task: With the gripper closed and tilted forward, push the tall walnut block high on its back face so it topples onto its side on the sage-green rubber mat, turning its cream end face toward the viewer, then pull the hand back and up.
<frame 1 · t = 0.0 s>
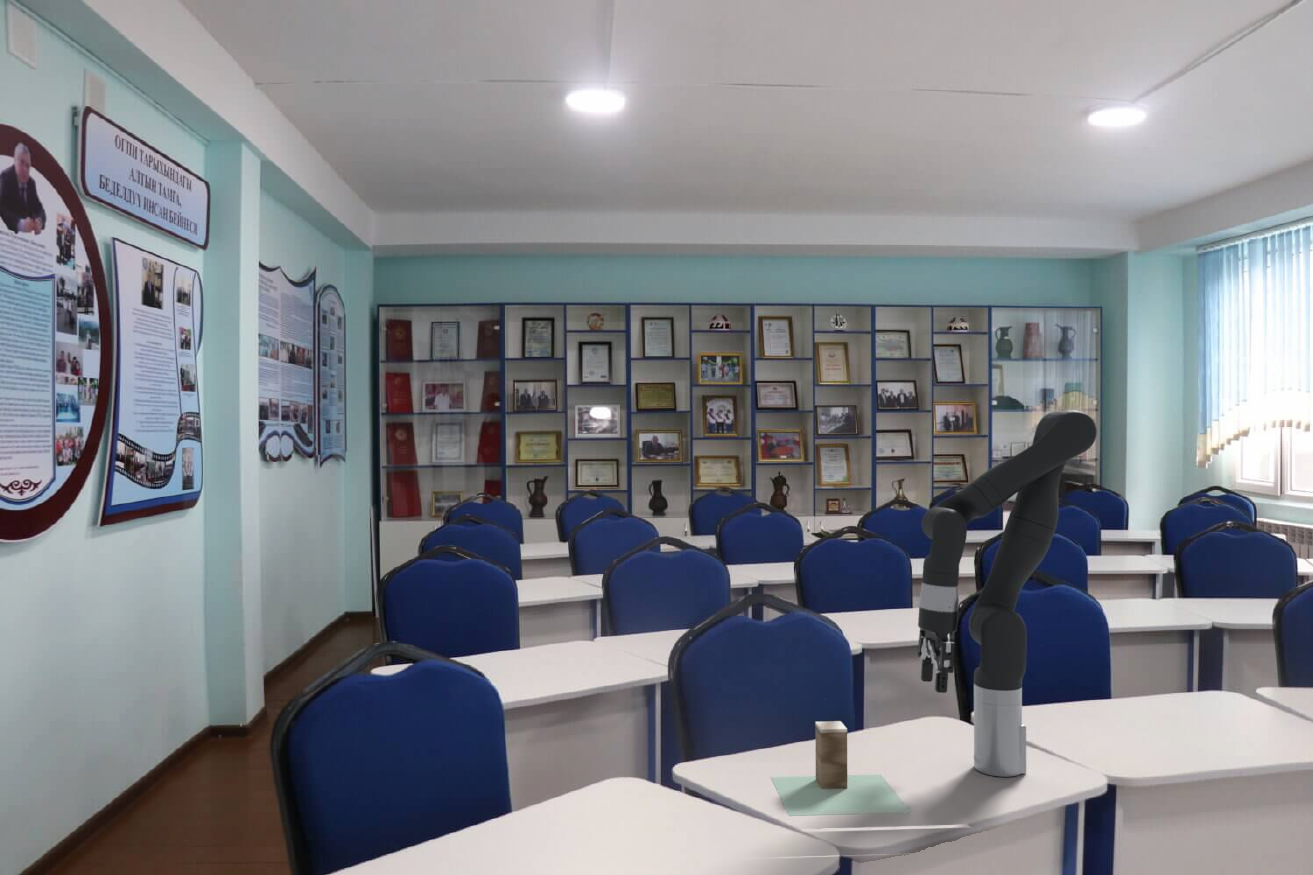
hand: (933, 686, 195), 17 cm above the table, tool pointing down, fingers open, 8 cm apart
sage mat: (837, 796, 182), on the table
walnut block: (831, 783, 187), resting on sage mat
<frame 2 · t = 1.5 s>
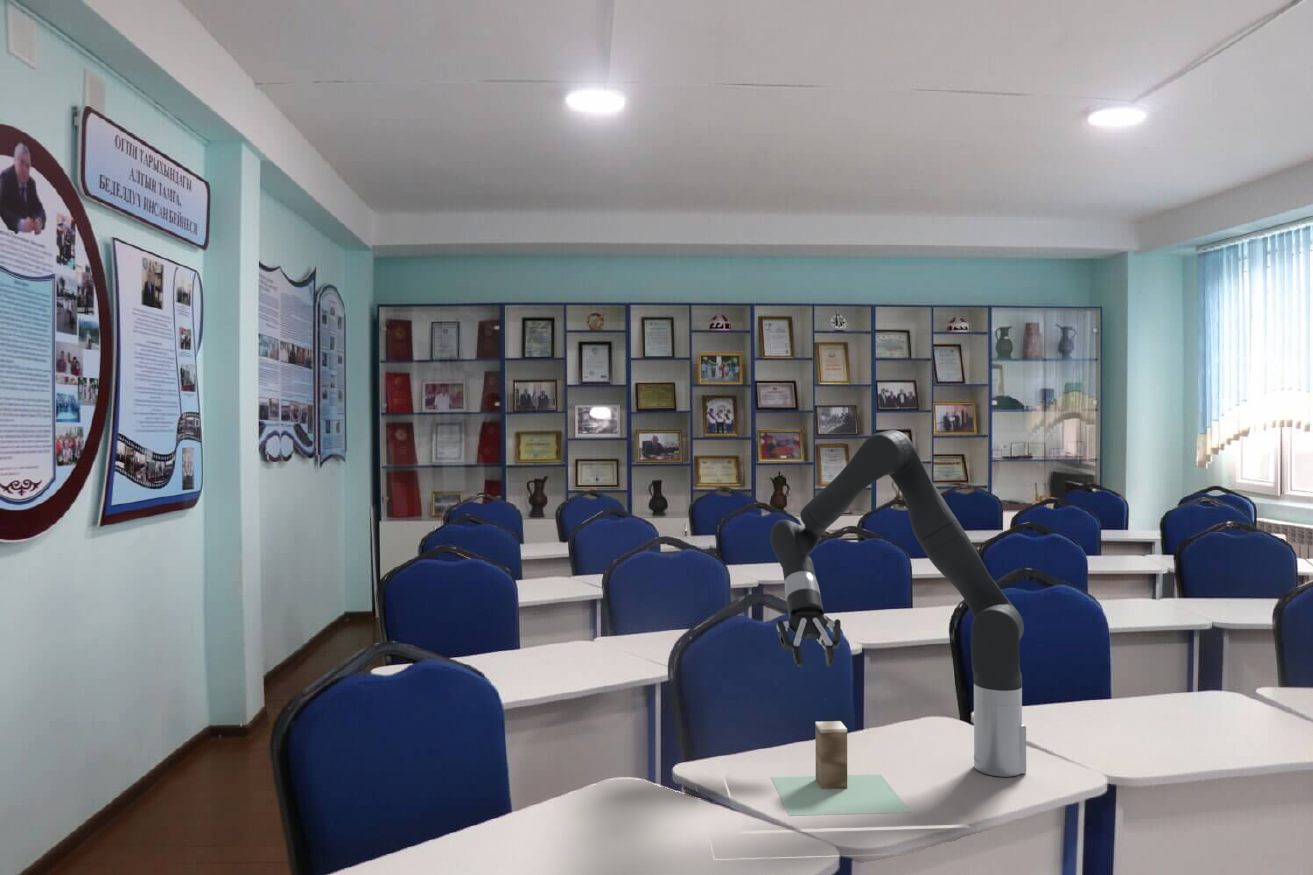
hand: (815, 664, 200), 20 cm above the table, tool tilted 45°, fingers open, 5 cm apart
nothing on the table moved.
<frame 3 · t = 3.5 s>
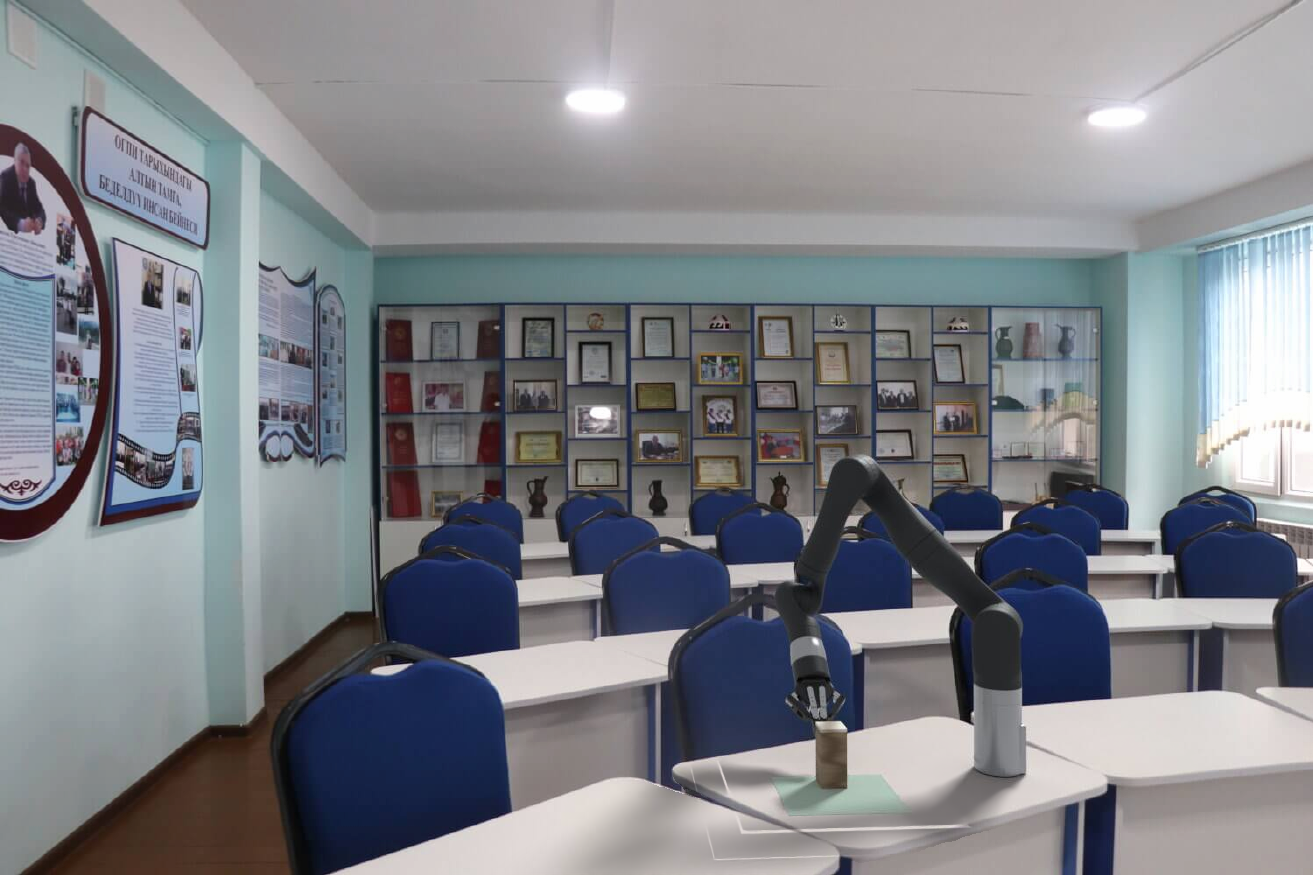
hand: (822, 738, 194), 7 cm above the table, tool tilted 45°, fingers closed
nothing on the table moved.
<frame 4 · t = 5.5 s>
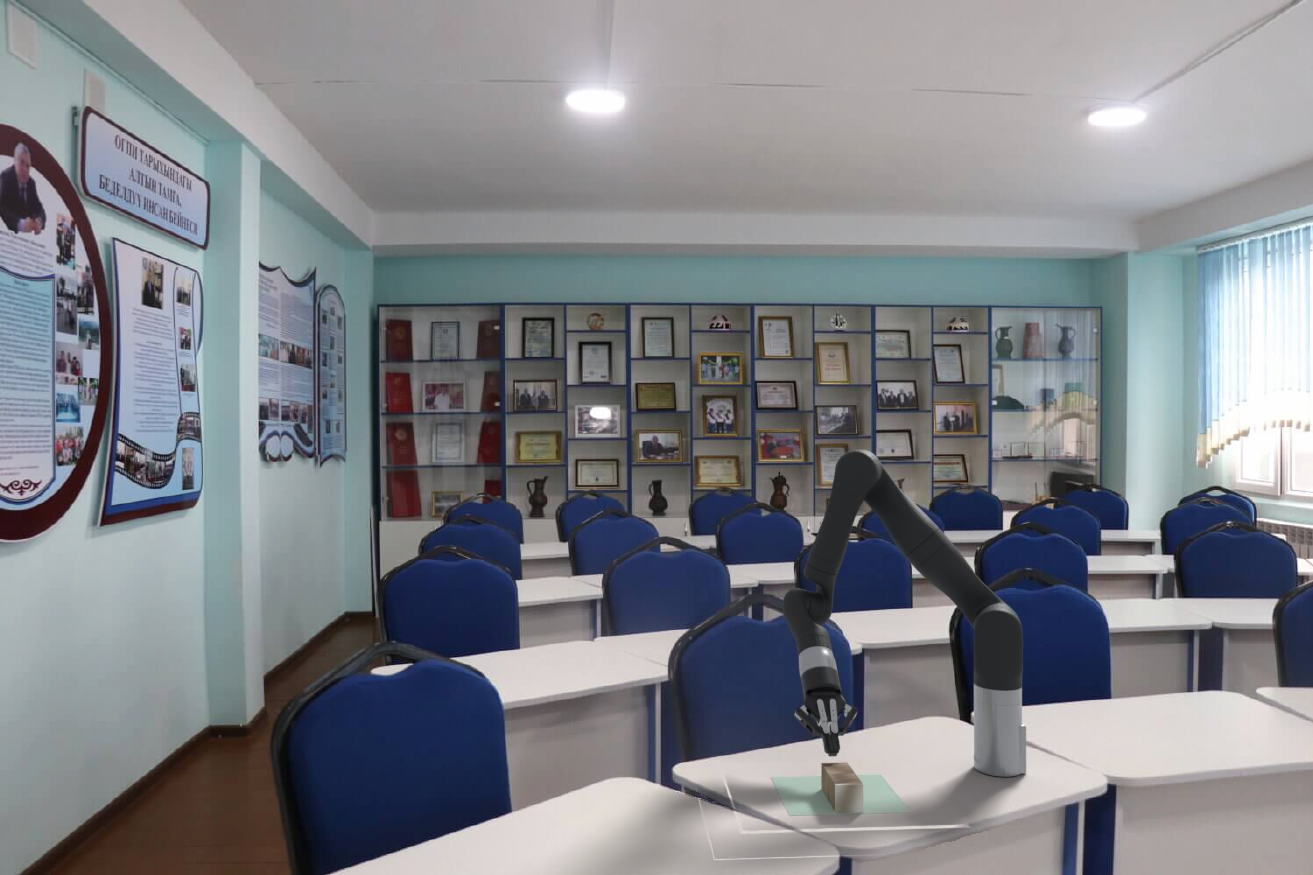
hand: (833, 754, 185), 7 cm above the table, tool tilted 45°, fingers closed
walnut block: (834, 775, 184), point 3 cm above the table, tilted 90°, touching sage mat
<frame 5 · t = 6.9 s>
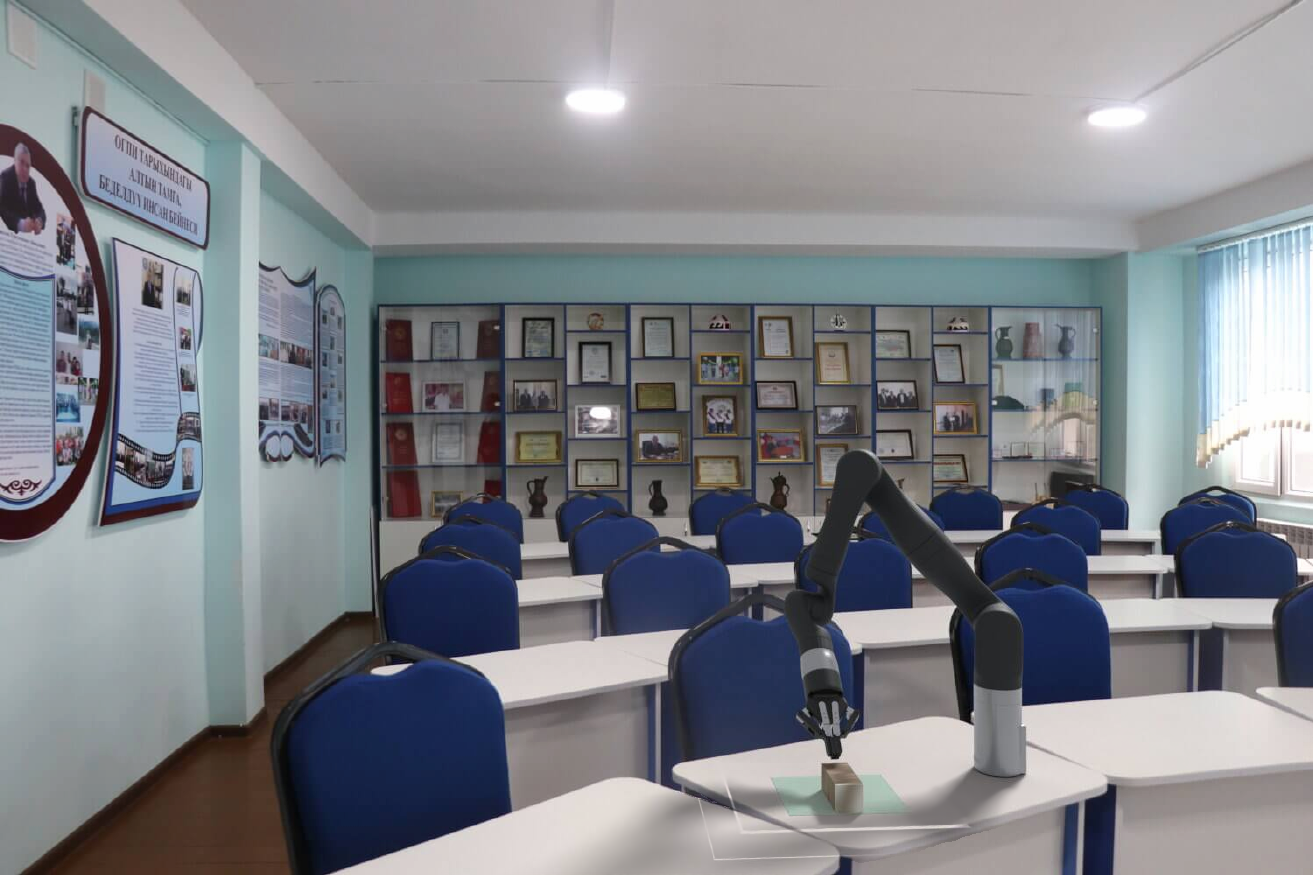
hand: (835, 757, 183), 7 cm above the table, tool tilted 45°, fingers closed
nothing on the table moved.
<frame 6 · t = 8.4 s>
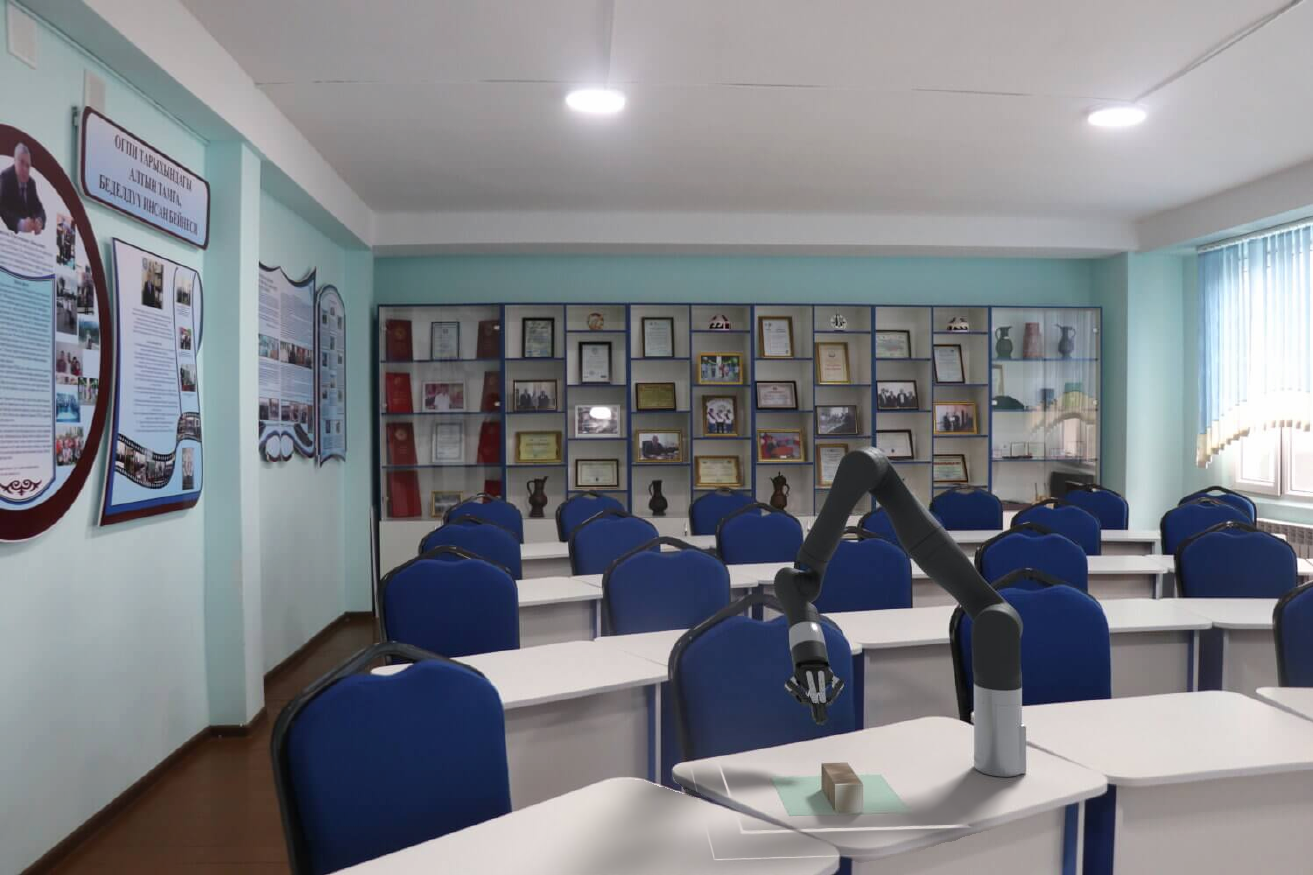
hand: (821, 722, 195), 10 cm above the table, tool tilted 45°, fingers closed
nothing on the table moved.
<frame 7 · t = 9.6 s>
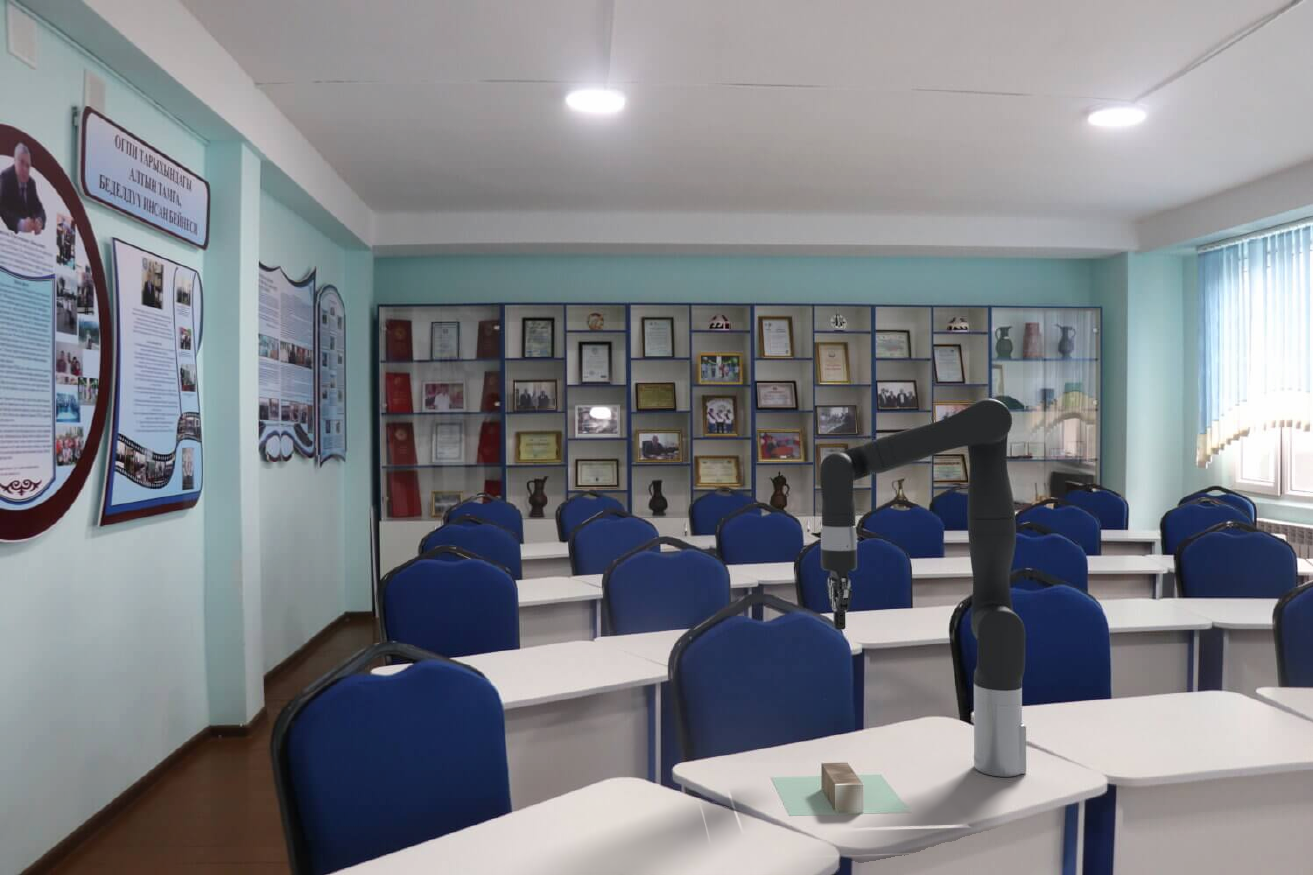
hand: (839, 628, 205), 27 cm above the table, tool pointing down, fingers closed
nothing on the table moved.
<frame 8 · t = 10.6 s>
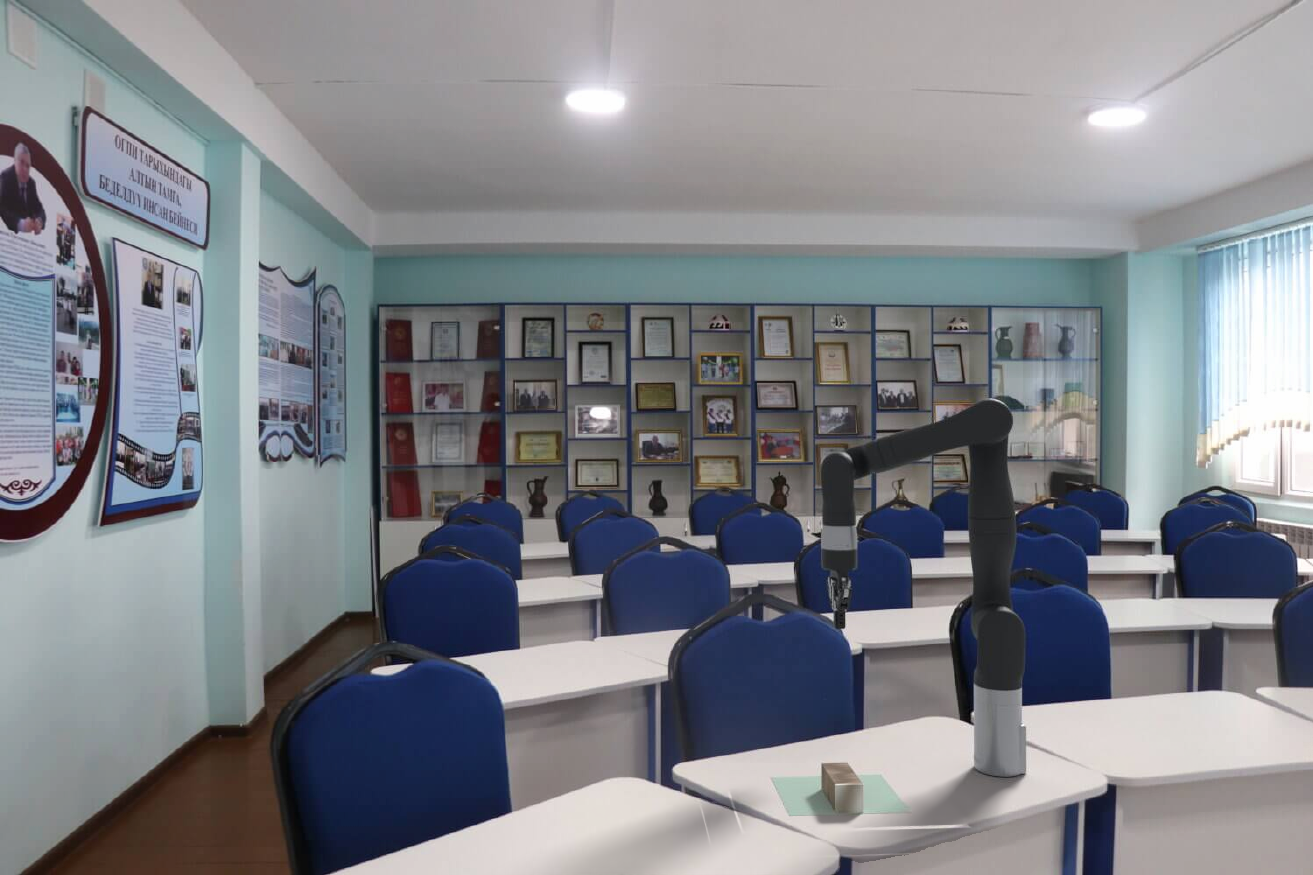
hand: (839, 628, 204), 27 cm above the table, tool pointing down, fingers closed
nothing on the table moved.
at the end: walnut block tilted 90°; walnut block inside the target area (1.0 cm from its centre), point 3.0 cm above the table; the gripper is holding nothing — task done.
